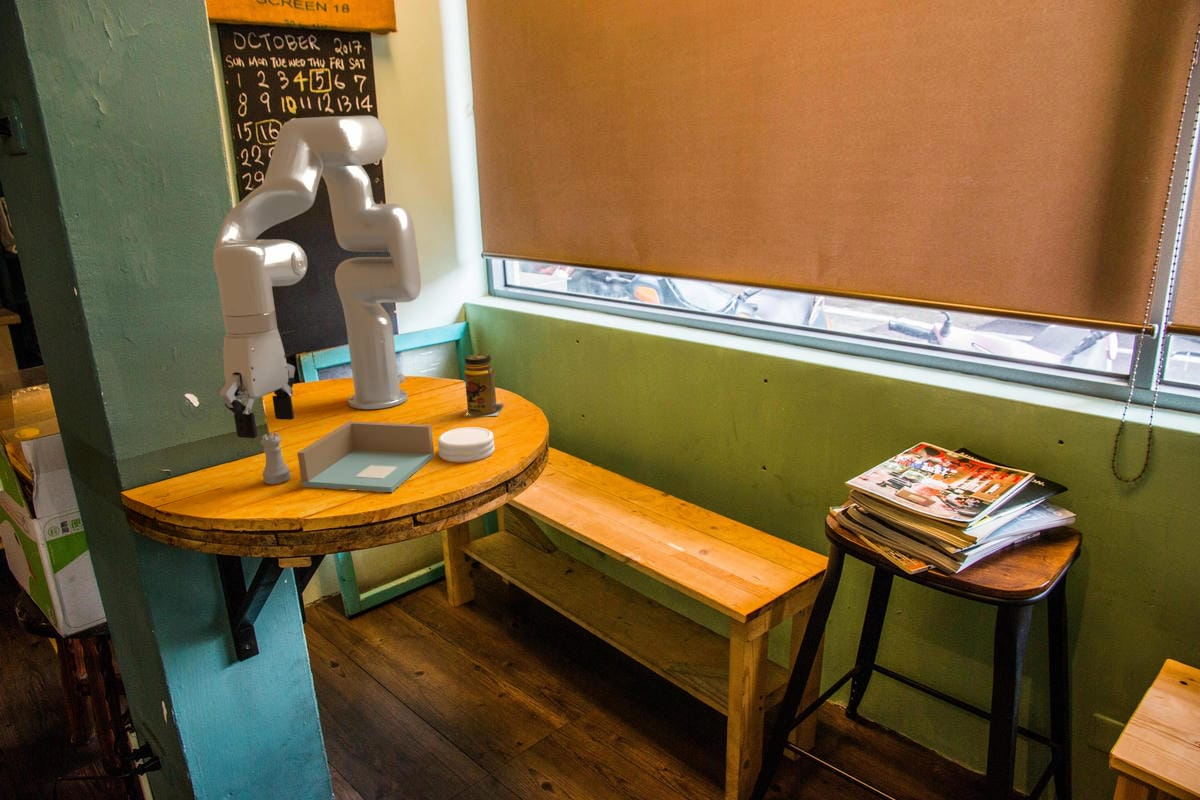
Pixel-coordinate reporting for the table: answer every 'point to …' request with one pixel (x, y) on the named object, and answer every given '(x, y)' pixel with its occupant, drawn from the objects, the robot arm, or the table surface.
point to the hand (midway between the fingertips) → (266, 427)
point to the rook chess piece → (274, 461)
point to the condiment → (480, 387)
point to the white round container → (466, 444)
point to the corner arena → (366, 456)
